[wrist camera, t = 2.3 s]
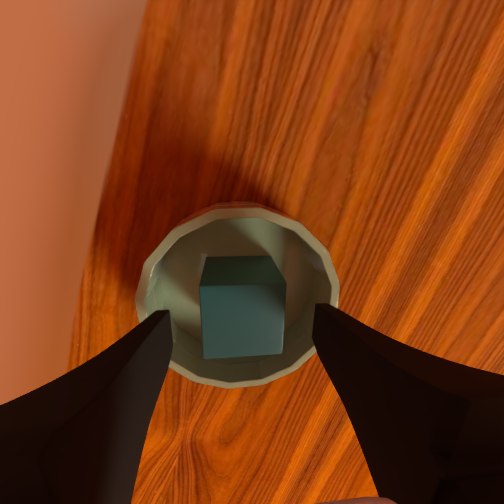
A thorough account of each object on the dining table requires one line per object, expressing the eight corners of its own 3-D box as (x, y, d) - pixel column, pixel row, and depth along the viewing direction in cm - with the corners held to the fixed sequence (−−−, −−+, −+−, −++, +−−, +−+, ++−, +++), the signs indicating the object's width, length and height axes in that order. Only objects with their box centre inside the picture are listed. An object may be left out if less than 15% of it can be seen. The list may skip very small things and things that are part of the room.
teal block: (208, 314, 16) (203, 359, 12) (205, 256, 15) (198, 286, 11) (269, 311, 16) (282, 354, 13) (271, 255, 15) (287, 282, 11)
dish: (138, 328, 16) (115, 366, 13) (181, 173, 14) (167, 172, 10) (280, 361, 19) (292, 402, 15) (342, 234, 16) (373, 249, 13)
